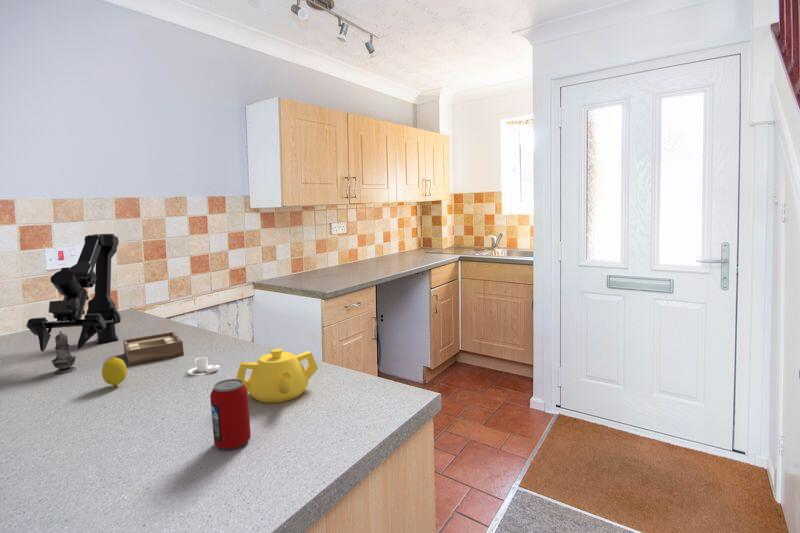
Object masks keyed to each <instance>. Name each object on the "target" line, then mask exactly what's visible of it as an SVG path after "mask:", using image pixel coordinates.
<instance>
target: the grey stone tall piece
mask: <svg viewBox="0 0 800 533" xmlns="http://www.w3.org/2000/svg"><path fill="white" fill-rule="evenodd" d="M54 337H55V338H54V340H55V347H54V349H55V351H56V355H55V356H56V357H55V358H54V359H52V360H51V361H50V363H52V365H53V366H54V368H56V370H55V371H54V372H53V374H54V375H64V374H69V373H71V372H74V371H77V367H75V366H74V365H75V362H76V358H77V356H76V355H72V354H71V352H70V347H71V345H70V344H69V340H68V335H67V334H66V333H63V331H61V330H60V331H59V333H58V334H56V336H54Z"/></svg>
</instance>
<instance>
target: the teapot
mask: <svg viewBox="0 0 800 533" xmlns="http://www.w3.org/2000/svg"><path fill="white" fill-rule="evenodd" d="M269 352H270V353H266V354H263V355H261V356H260V357H259V358H258V360H257V361H256V362H254V361H252V362H251V361H250V362H249V361H241V362H240V363H239V366H238V371H237V374H236V377H235V379H240V380H242V381H243V384H244V385H245V386H246V388H247V391H248V393H249V394H250V395H251V396H252V397H253V398H254V399H255V400H256V401H258V402H261V403H268V404H271V403H272V404H274V403H275V404H276V403H282V402H286V401H291V400H294V399H296V398H297V397H299V396H301V395H302V393H303V392H304V391H305V390H307V389H306V388H307V387H308V384H309V380H310V379H311V377H312V376H313V375H314V374H315V373H316V372H317V370H319V367H318V365H317V362H316V360H315V358H314V355H313V354H312V352H311V350H308V351H304V352H301V353H299V354H296V355H295V354H294V353H292V352H291V351H289V352H288V351H283V349H282V348H273V349H272V350H269ZM304 360H306V361H307V363H308V366H307V367H306V368H305V367H304V365H303V364H302V362H301V361H304ZM247 369H248V370H251V373H250V376H249V379H247V378H246V373H247Z"/></svg>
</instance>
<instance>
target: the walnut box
mask: <svg viewBox="0 0 800 533" xmlns="http://www.w3.org/2000/svg"><path fill="white" fill-rule="evenodd" d="M183 342H184V341H183V340H182V339H181V338H180V337H179V336H178V335H177V334H176V332H175V331H171V332H165V333H158V334H157V333H156V334H153V335H147V336H139V337H136V338H129V339H127V338H126V339H123V340H122V343H123V352H124V356H125V358H126V361H127V363H128V366H130V367H131V366H135V365H139V364H145V363H149V362H156V361H160V360H161V361H162V360H165V359H170V358H176V357H177V358H178V357H180V356H184V343H183Z"/></svg>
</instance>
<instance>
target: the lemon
mask: <svg viewBox="0 0 800 533" xmlns="http://www.w3.org/2000/svg"><path fill="white" fill-rule="evenodd" d="M127 373H128V369H127V365H126V362H125V361H124V360H123V359H121V358H120V357H119V358H118V357H116V356H112V357H111V358H109V359H106V361H104V363H103V365H102V369H101V377H102V379H103V381H104V383H106V384H108V385H110V386H114V387H118V386H119V384H121V383H123V381H124V380H126V378H127Z"/></svg>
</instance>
